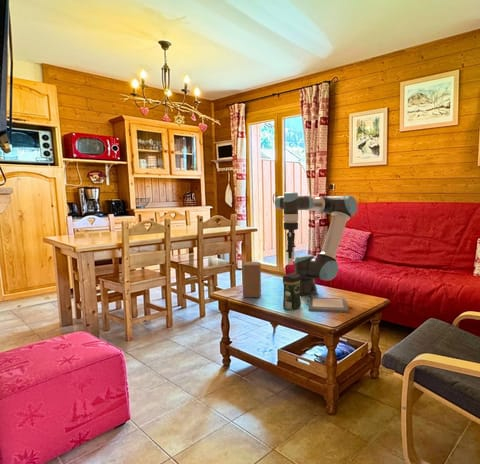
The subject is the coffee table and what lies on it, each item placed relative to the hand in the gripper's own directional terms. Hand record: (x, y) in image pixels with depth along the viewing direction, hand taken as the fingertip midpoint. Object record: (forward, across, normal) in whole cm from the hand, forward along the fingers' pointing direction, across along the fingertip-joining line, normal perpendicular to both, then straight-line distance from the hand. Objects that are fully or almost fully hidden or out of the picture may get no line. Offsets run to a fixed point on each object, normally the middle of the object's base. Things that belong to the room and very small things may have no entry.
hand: (291, 261), depth 186 cm
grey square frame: (+25, -6, +19) cm, 32 cm away
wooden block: (+25, -19, -25) cm, 40 cm away
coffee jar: (+25, 0, 0) cm, 25 cm away
